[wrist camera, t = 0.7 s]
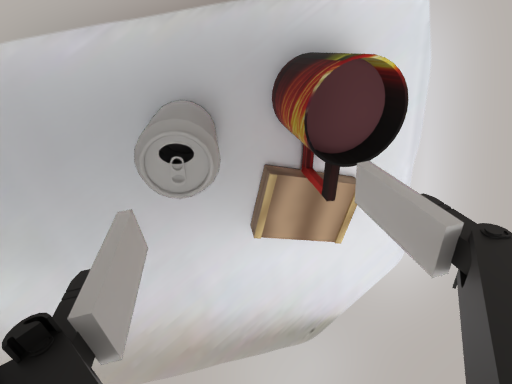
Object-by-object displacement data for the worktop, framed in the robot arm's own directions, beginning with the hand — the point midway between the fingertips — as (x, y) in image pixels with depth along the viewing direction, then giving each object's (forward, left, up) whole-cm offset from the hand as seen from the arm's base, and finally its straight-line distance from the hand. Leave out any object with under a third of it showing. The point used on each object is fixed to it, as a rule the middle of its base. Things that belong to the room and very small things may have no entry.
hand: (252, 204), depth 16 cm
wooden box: (+13, -10, -21) cm, 26 cm away
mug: (+11, +3, -21) cm, 24 cm away
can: (-5, -2, -21) cm, 21 cm away
